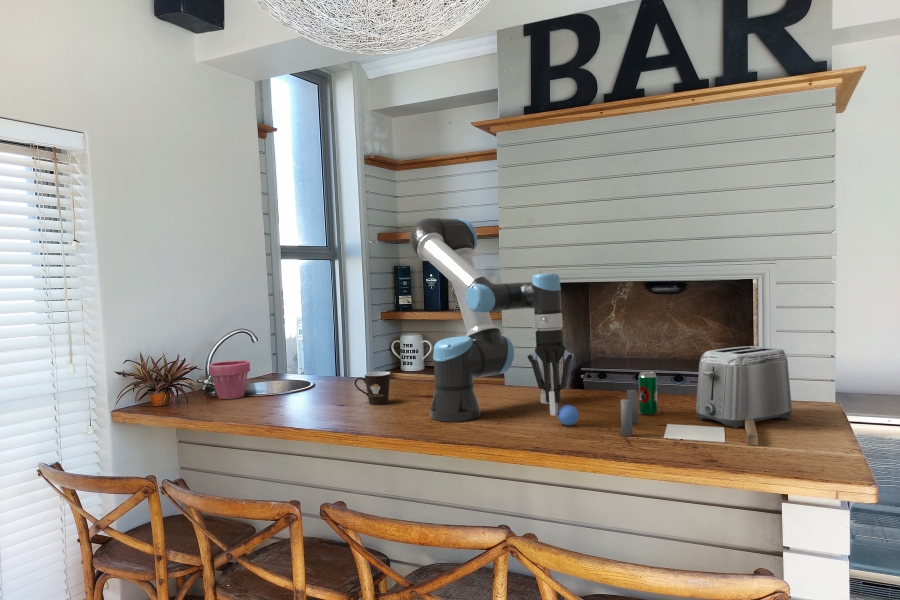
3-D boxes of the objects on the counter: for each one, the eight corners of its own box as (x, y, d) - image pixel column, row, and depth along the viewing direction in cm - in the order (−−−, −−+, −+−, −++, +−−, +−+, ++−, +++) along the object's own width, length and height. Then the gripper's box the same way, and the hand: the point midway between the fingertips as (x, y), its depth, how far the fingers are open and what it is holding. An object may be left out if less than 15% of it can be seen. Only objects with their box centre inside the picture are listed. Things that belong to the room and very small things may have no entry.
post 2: (627, 424, 168) (626, 391, 168) (628, 421, 171) (627, 389, 170) (636, 424, 167) (636, 391, 167) (638, 422, 170) (637, 390, 169)
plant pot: (228, 392, 237) (227, 359, 237) (259, 393, 233) (257, 360, 232) (202, 400, 224) (200, 365, 223) (234, 401, 219) (232, 366, 218)
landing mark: (663, 438, 153) (663, 437, 153) (667, 424, 166) (667, 424, 166) (725, 442, 148) (725, 441, 148) (724, 428, 161) (724, 427, 161)
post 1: (620, 436, 157) (620, 401, 156) (622, 433, 159) (621, 399, 159) (631, 436, 156) (630, 401, 155) (632, 434, 158) (631, 399, 158)
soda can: (658, 415, 177) (657, 374, 176) (640, 415, 178) (639, 374, 177) (656, 411, 182) (655, 371, 181) (638, 411, 183) (637, 371, 182)
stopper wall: (748, 445, 145) (748, 434, 145) (745, 428, 160) (744, 418, 160) (757, 446, 144) (757, 435, 144) (753, 429, 159) (753, 419, 159)
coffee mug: (396, 401, 209) (395, 372, 209) (380, 406, 202) (379, 376, 201) (370, 398, 215) (368, 370, 215) (353, 403, 208) (352, 374, 208)
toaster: (683, 418, 172) (682, 351, 172) (759, 406, 184) (758, 342, 183) (732, 432, 157) (731, 358, 156) (812, 417, 169) (811, 348, 168)
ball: (553, 422, 168) (559, 404, 167) (557, 417, 174) (564, 399, 173) (572, 431, 167) (579, 412, 165) (576, 425, 172) (583, 407, 171)
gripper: (522, 331, 169) (527, 416, 169) (568, 329, 164) (574, 417, 164) (530, 328, 176) (535, 411, 176) (575, 327, 171) (580, 412, 171)
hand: (554, 414), depth 170 cm, fingers closed
